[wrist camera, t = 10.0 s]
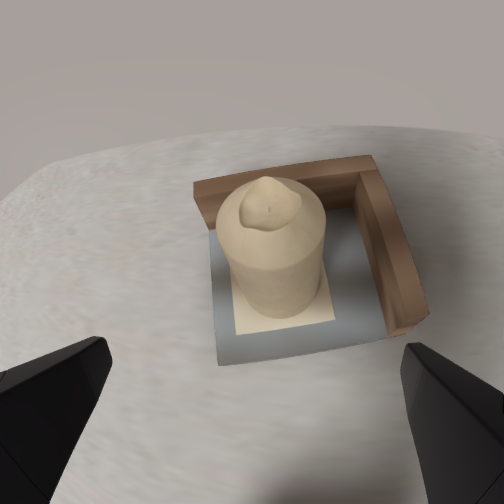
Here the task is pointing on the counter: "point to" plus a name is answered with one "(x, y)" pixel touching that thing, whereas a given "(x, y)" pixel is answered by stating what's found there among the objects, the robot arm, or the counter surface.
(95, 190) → the counter surface
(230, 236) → the candle
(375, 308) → the frame
